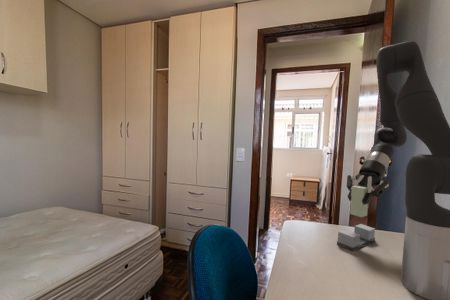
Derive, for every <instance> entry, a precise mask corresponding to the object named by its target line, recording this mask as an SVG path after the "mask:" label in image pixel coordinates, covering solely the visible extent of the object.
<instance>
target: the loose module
mask: <svg viewBox="0 0 450 300" xmlns="http://www.w3.org/2000/svg"><path fill="white" fill-rule="evenodd" d="M367 189H368V187H363V186H353V185H352V191H351V201H350V205H349V206H350V207H349V214H350V215H352V216H355V217H359V218H364V217H366V216H368V211H369V210H368V209H369V208H368V207H369V203H368V204H366V205H364V204H363V203H362V199H363V198H364V196H365V194H366V193H367Z"/></svg>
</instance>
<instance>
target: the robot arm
mask: <svg viewBox="0 0 450 300" xmlns="http://www.w3.org/2000/svg"><path fill="white" fill-rule="evenodd" d="M375 64H376V75H377V77H376V78H377V84H378V95H379V103H380V104H379V105H380V107H379V108H380V109H379V110H380V112H379V123H380V125H381V126H383V127H380V128H378V129H376V130H375V131H374V136H373V137H374V139H373V145H372V148H371V150H370V152H369V153H368V155H367V156H366V158H364V161H363V163H362V165H361V166H360V169H359V171H358V173H357V174H356V175H354V176H351V175H349V174H348V175H347V176H346V188H347V189H348V191H349V192H348V194H347V198H348V200H349V202H351V191H352V186H363V187H368V189H367V193H366V194H365V196H364V198H363V199H362V203H363V204H364V205H366V204H368V205H369V203H370V201H371V199H372V198H373V197H376V198H379V197H380V196H381V195H383V194H384V193H385V192H386V191H387V190H388V189H389V188H390V185H389V182H388V181H387V180H383V178H384V176H385V174H386V172H387V170H388V168H389V166H390V165H389V164H390V162H391V160H392V157H393V155H394V153H395V149H394V147H395V148H400V147H402V146H404V145H405V143H406V142H407V138H408V137H407V131H406V130H408V132H410V133H412V134H413V135H414V136H415V137H416V138H417V139H418V140H420V141H421V142H422V143H423V144H424V145H425V146H426V147H427V149H428V150H429V152H430V154H424V153H421V154H415V155H413V156H412V157H410V159H408V162H407V165H406V169H405V170H406V171H405V194H404V195H405V197H404V199H405V201H404V202H405V204H404V205H405V208H406V210H405V211H406V214H405V228H404V237H403V250H402V261H401V262H402V263H401V272H400V282H401V284H402V286H403V287H404V288H406V289H407V290H408V291H409V292H412V293H413V294H415V295H417V296H419V297H421V298H424V299H426V300H450V209H448V208H445V207H443V206H441V205H440V204H438V203H437V202H436V198H435V197H436V196H435V195H436V194H438V195H439V194H441V195H450V124H449V122H448V121H447V118H446V116H445V114H444V113H445V112H444V110H443V108H442V104H441V103H440V100H439V98H438V96H437V93H436V91H435V89H434V87H433V86H432V83H431V80H430V78H429V75H428V73H427V70H426V66H425V62H424V59H423V55H422V51H421V49H420V46H419V44H418V43H417V42H416V41H415V40H407V41H403V42H399V43H394V44H391V45H387V46H383V47H381V48H379V49H378V51H377V54H376V62H375ZM402 72H406V73H408V76H407V78H406V80H405V82H404V84H403V85H402V87H401V88H400V90H398V93H397V91H396V90H395V89H394V87H393V86H392V85H391V82H390V79H389V75H393V74H398V73H402ZM375 187H376V188H375Z"/></svg>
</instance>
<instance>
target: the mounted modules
mask: <svg viewBox="0 0 450 300" xmlns="http://www.w3.org/2000/svg"><path fill="white" fill-rule="evenodd" d="M375 232H376V228H375V227H371V226H369V225H366V224H363V223H359V224H357V225H354V231H352V230H348V229H342V230H339V231H338V233H337V241H338V242H340V243H342V244H345V245H347V246H349V247H352V248H353V247H356V246H358V245H359V242H360V237H361V238H364V239H366V240H371V239H373V238H375V234H376V233H375Z"/></svg>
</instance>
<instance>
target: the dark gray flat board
mask: <svg viewBox="0 0 450 300" xmlns="http://www.w3.org/2000/svg"><path fill="white" fill-rule="evenodd" d="M375 241H376V238H375V237H374V238H373V239H371V240H366V239H364V238H361V237H360V242H359V245H358V246H356V247H353V248H352V247H349V246H347V245H345V244H342V243H340V242H338V240H337V241H336V245H338V246H340V247H342V248H344V249H348V250H350V251H352V252H355V251H357V250H359V249H361V248H363V247H364V246H365V247H366V246H367V245H369V244H371V243H373V242H375Z"/></svg>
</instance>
